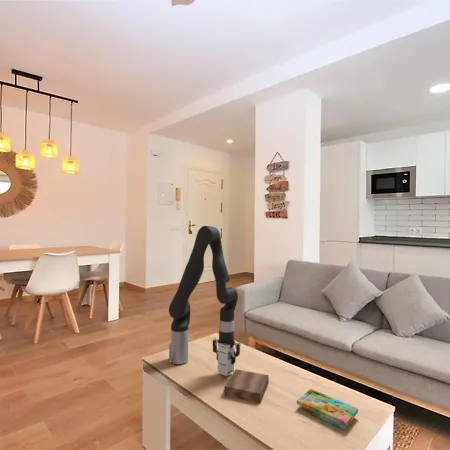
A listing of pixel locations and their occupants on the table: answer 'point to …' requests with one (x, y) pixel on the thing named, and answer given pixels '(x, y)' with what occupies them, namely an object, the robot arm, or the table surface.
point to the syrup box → (225, 359)
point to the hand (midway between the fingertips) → (225, 362)
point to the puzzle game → (328, 408)
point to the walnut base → (247, 385)
